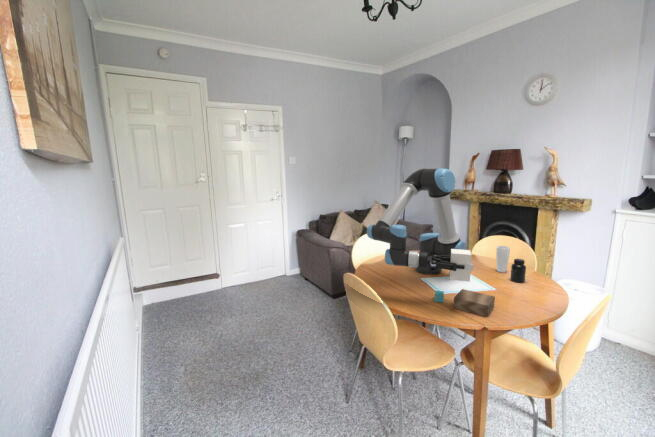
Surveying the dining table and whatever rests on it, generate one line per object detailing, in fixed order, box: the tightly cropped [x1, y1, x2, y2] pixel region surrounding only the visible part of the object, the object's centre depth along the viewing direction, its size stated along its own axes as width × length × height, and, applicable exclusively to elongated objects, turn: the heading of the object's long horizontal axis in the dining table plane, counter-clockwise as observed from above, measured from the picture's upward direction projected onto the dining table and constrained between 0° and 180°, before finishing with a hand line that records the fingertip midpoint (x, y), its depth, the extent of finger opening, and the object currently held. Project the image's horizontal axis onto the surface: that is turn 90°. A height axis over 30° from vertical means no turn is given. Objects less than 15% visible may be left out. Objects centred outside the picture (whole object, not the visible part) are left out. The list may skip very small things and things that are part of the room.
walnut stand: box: [453, 288, 496, 318], centre depth 138 cm, size 14×12×5 cm
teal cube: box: [434, 289, 445, 303], centre depth 146 cm, size 4×4×4 cm
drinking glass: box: [495, 245, 511, 273], centre depth 183 cm, size 7×7×15 cm
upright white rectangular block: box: [449, 249, 472, 282], centre depth 137 cm, size 8×8×12 cm
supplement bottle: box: [510, 258, 527, 283], centre depth 168 cm, size 7×7×12 cm
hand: (472, 264), depth 136 cm, fingers closed on upright white rectangular block, 8 cm apart
